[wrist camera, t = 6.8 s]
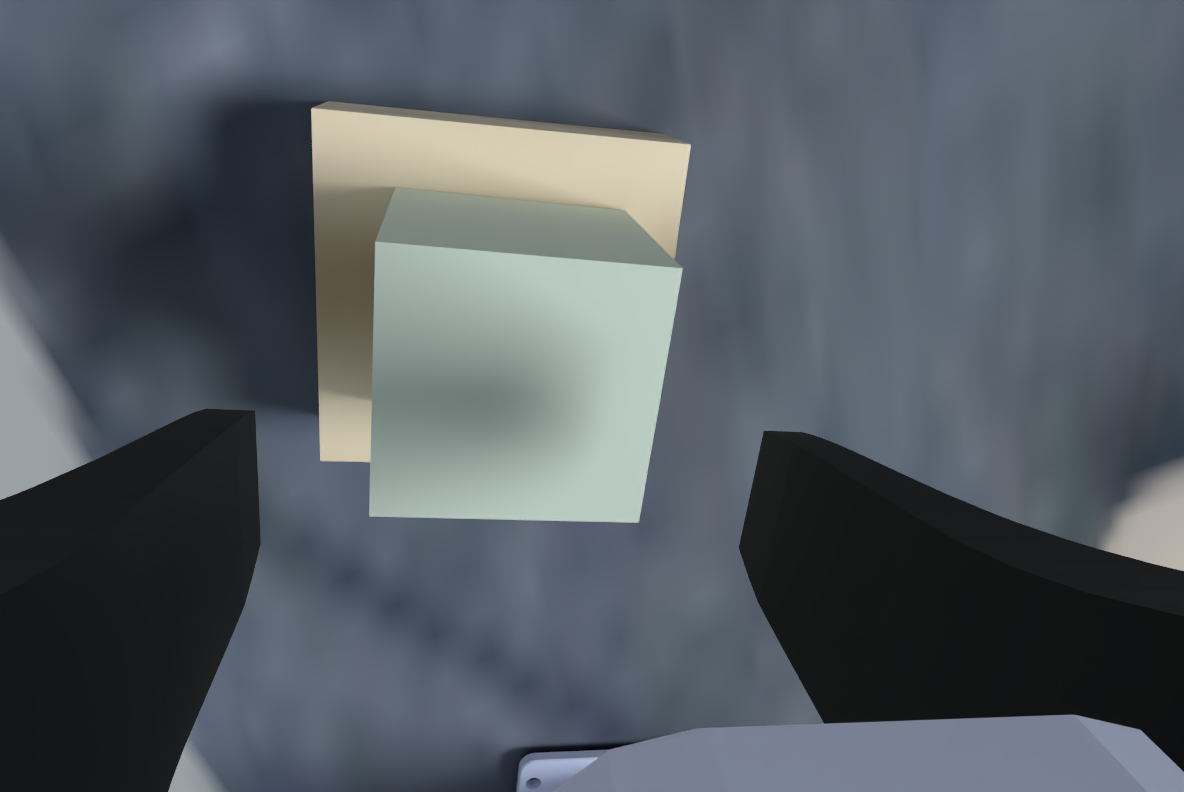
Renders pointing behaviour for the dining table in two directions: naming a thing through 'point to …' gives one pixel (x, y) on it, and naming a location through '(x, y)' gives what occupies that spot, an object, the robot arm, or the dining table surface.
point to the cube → (515, 359)
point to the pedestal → (455, 165)
